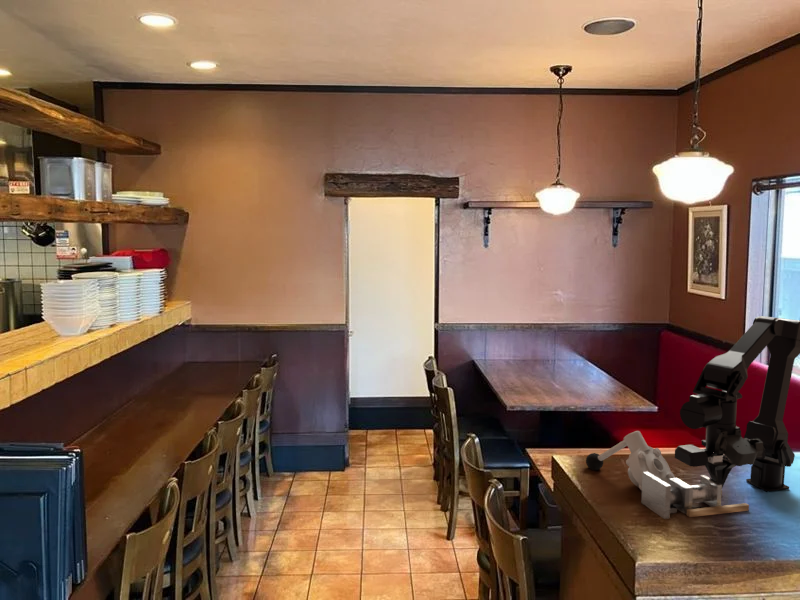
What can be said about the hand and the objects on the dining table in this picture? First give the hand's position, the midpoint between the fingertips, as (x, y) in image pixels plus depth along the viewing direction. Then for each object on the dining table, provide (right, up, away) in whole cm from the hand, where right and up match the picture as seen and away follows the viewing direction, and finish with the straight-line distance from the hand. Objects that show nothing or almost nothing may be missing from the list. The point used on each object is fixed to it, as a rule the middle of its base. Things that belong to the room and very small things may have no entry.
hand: (718, 489), depth 141 cm
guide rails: (-3, -3, 0) cm, 4 cm away
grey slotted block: (-5, -3, -1) cm, 6 cm away
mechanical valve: (-16, -2, +13) cm, 21 cm away
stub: (-13, -3, -3) cm, 13 cm away
